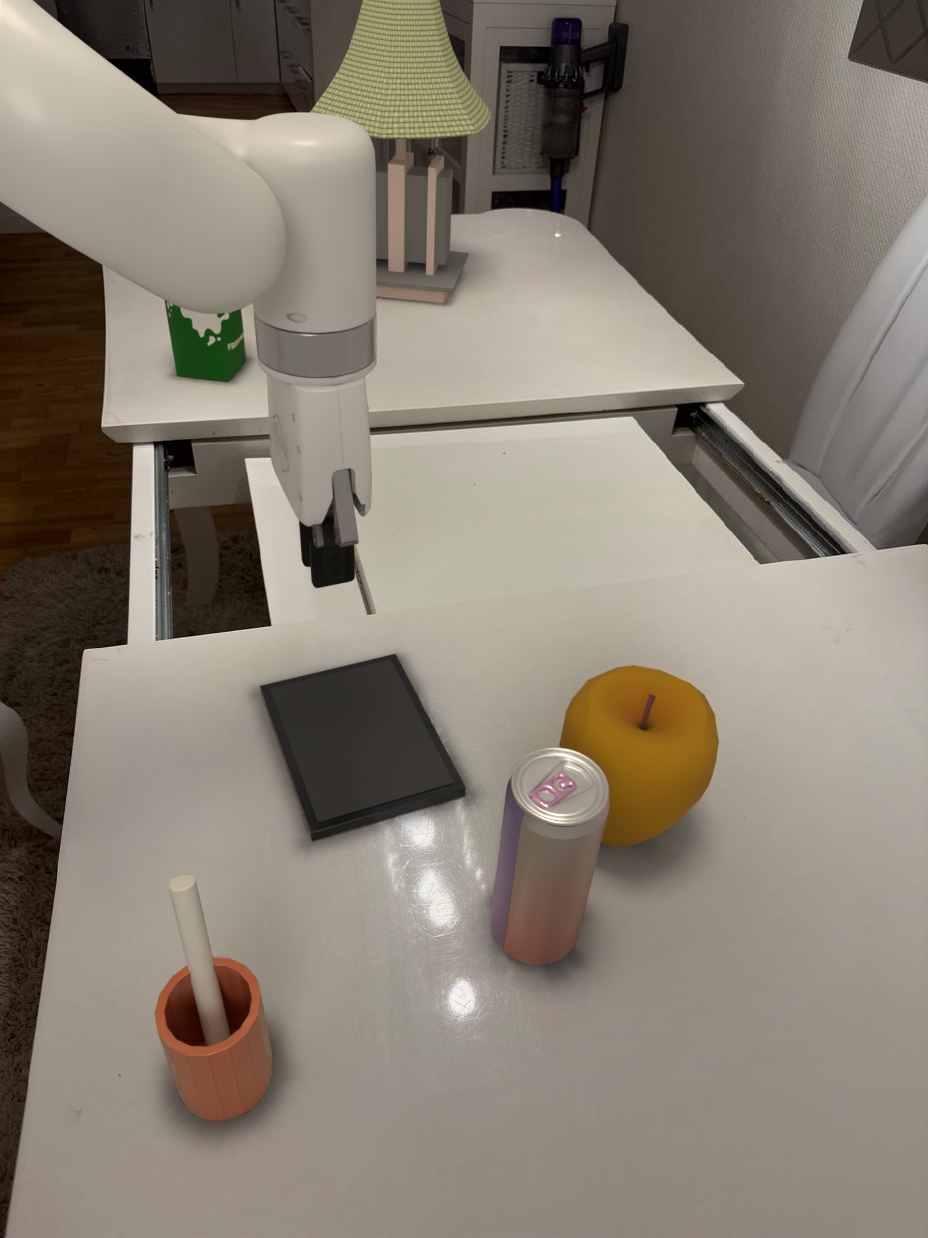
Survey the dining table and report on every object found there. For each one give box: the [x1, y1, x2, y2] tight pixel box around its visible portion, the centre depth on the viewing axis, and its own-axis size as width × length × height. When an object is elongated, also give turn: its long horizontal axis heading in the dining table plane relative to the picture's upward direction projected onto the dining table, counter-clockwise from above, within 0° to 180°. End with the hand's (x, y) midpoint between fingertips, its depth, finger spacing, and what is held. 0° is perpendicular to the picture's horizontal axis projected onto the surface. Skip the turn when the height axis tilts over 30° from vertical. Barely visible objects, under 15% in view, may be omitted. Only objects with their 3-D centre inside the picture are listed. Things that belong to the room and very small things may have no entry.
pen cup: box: [154, 956, 274, 1122], centre depth 51 cm, size 5×5×8 cm
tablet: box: [259, 653, 467, 842], centre depth 74 cm, size 12×16×1 cm
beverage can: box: [490, 746, 610, 965], centre depth 57 cm, size 6×6×15 cm
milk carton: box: [164, 300, 247, 382], centre depth 118 cm, size 9×9×20 cm
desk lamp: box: [309, 0, 492, 304], centre depth 139 cm, size 26×28×40 cm
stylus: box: [168, 873, 231, 1047], centre depth 51 cm, size 1×1×13 cm
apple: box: [559, 664, 720, 849], centre depth 65 cm, size 11×11×13 cm
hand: (328, 570), depth 70 cm, fingers closed
